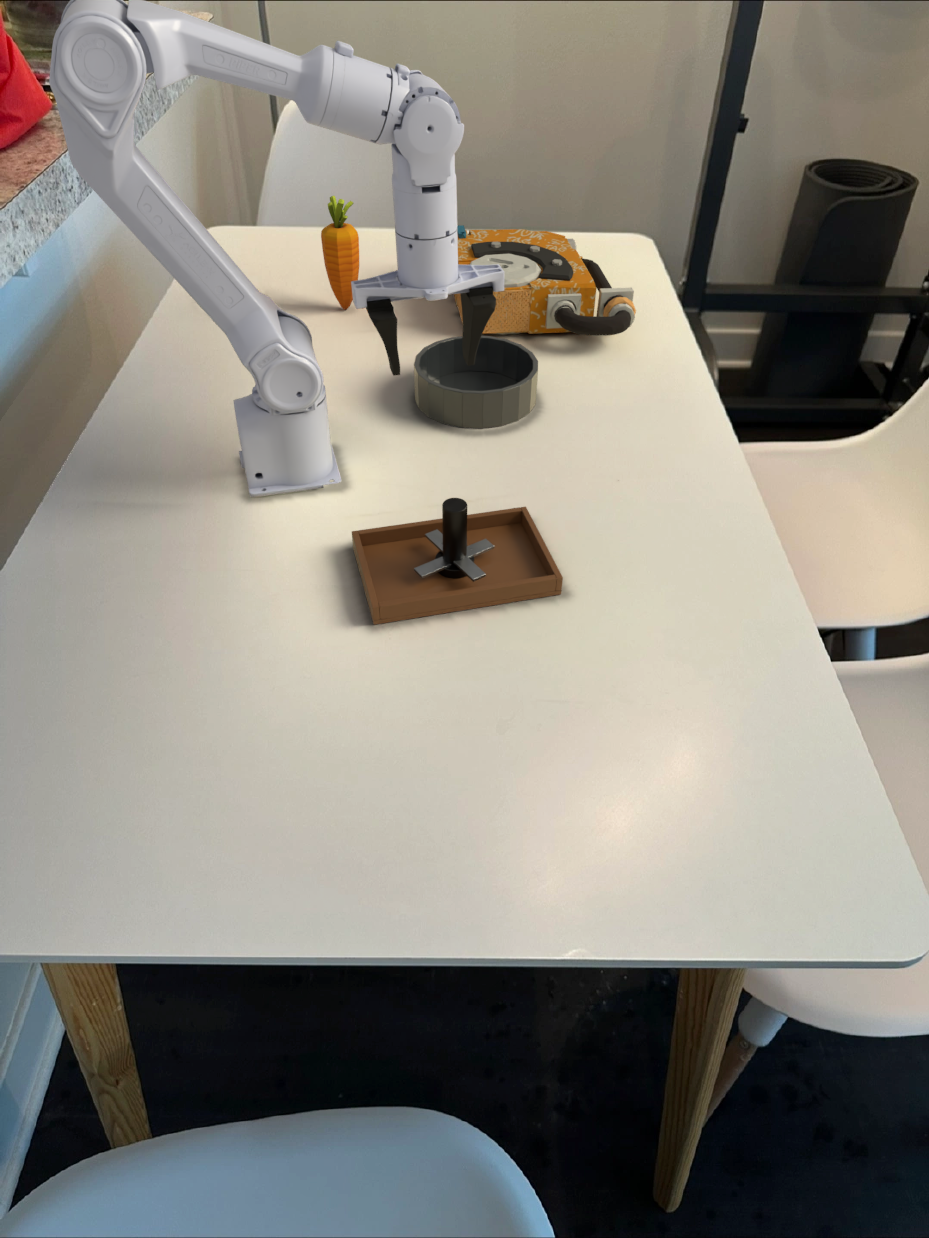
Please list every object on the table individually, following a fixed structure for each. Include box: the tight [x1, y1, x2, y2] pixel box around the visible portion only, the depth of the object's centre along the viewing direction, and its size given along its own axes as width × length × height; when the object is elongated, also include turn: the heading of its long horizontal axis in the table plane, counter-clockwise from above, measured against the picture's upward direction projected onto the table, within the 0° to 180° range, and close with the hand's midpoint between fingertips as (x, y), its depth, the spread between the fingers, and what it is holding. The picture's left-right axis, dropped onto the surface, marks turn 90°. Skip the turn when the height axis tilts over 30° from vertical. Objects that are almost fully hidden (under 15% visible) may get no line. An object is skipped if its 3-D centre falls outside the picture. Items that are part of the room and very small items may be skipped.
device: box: [453, 224, 637, 337], centre depth 124 cm, size 23×8×30 cm
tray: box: [351, 506, 564, 625], centre depth 84 cm, size 17×11×2 cm, turn 104°
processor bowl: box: [413, 335, 539, 430], centre depth 107 cm, size 14×14×5 cm
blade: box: [414, 497, 494, 582], centre depth 82 cm, size 8×8×7 cm
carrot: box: [320, 195, 360, 311], centre depth 122 cm, size 5×5×15 cm
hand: (432, 366), depth 93 cm, fingers open, 7 cm apart
